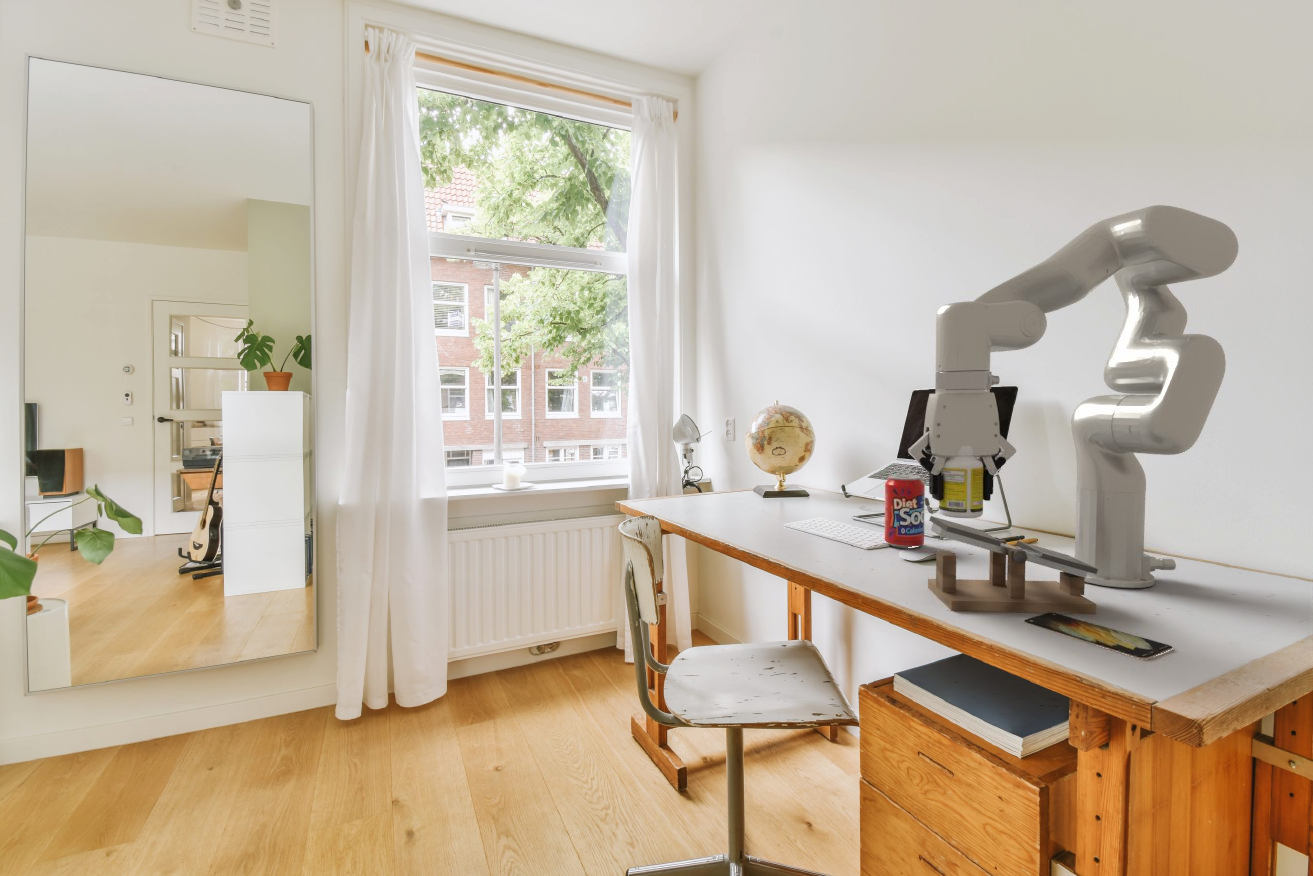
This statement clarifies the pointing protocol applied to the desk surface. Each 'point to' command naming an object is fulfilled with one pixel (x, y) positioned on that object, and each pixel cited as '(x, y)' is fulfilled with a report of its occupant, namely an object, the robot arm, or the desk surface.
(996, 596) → the stand
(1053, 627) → the smartphone
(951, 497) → the pill bottle
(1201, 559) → the desk surface
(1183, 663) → the desk surface
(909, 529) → the soda can
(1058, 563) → the beam
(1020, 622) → the desk surface
